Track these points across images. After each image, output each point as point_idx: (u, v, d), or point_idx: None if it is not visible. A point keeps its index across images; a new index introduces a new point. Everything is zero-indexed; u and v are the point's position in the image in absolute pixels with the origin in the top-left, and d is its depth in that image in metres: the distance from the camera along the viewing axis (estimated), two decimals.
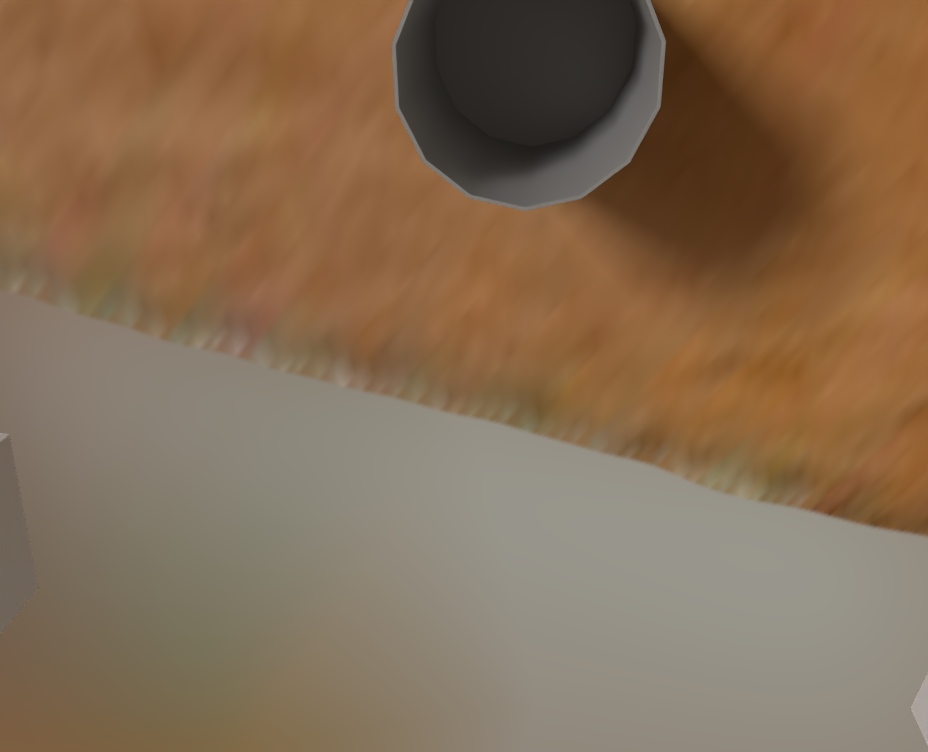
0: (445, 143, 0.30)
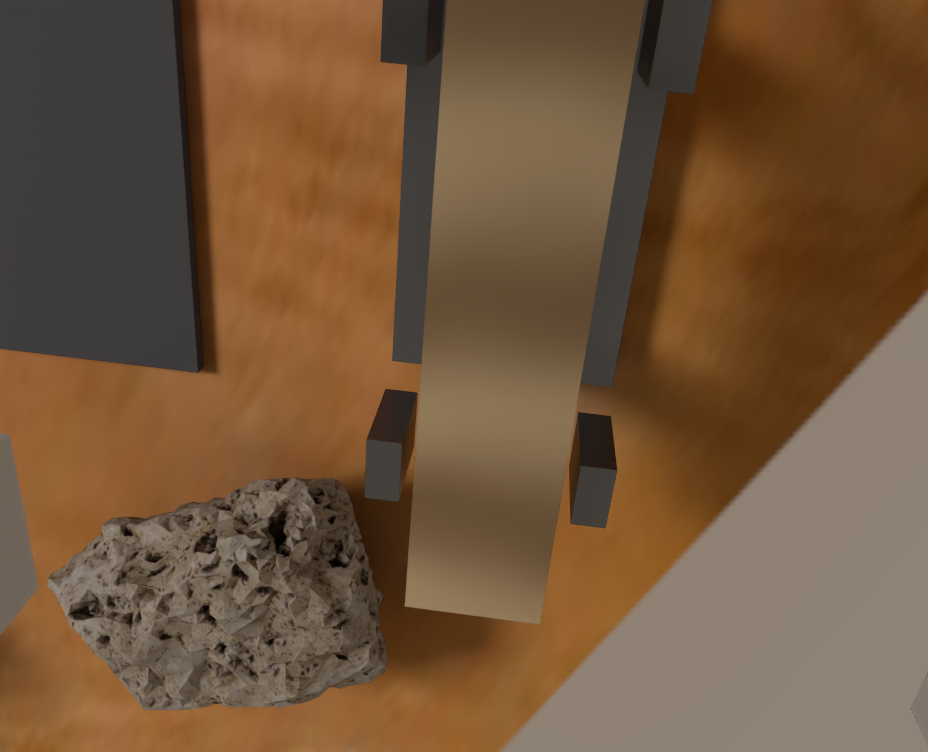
0: None
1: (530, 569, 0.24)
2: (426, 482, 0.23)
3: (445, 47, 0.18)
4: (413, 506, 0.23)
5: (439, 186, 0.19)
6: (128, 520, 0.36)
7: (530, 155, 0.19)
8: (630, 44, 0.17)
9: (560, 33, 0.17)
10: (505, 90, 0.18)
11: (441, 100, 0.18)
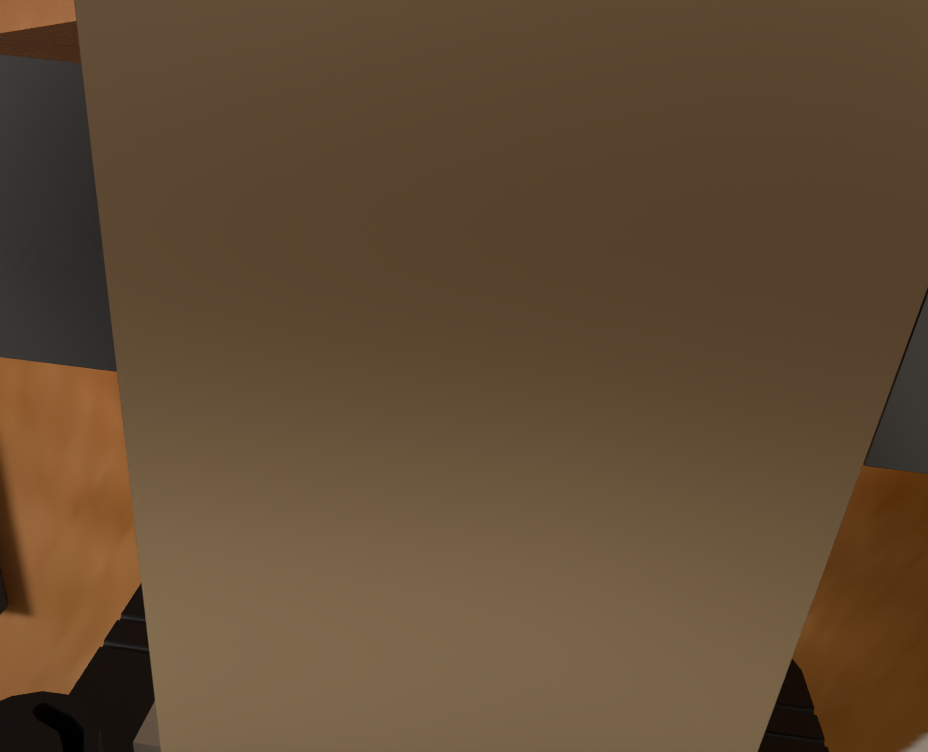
0: None
1: None
2: None
3: (123, 376, 0.05)
4: None
5: (177, 747, 0.06)
6: None
7: (465, 695, 0.05)
8: (856, 392, 0.04)
9: (572, 346, 0.04)
10: (363, 517, 0.05)
11: (140, 534, 0.05)
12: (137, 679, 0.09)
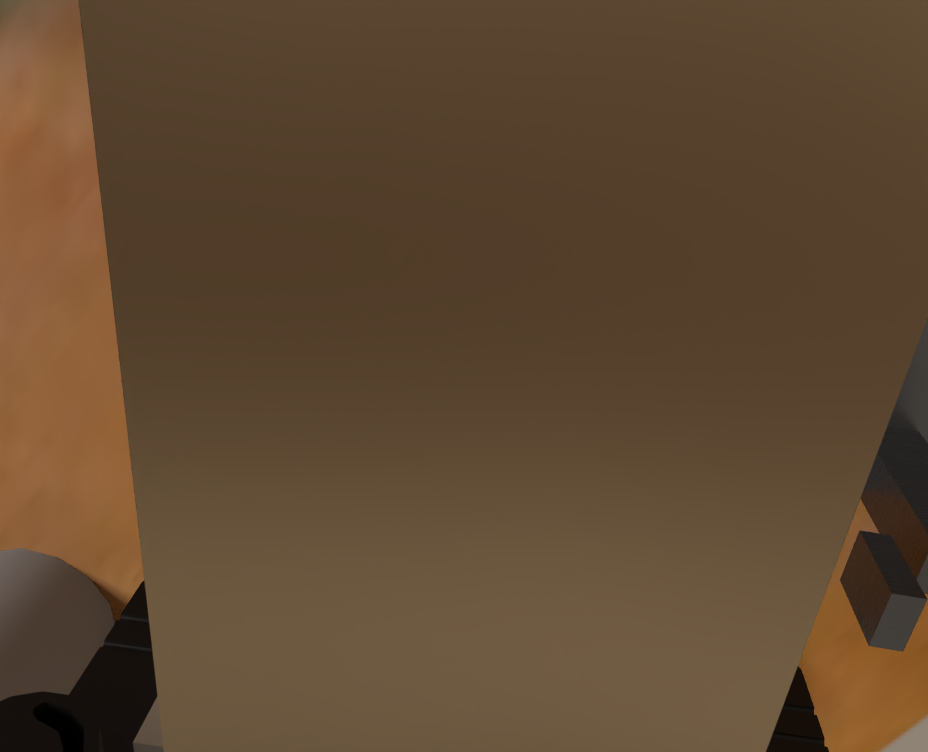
0: None
1: None
2: None
3: (129, 387, 0.05)
4: None
5: None
6: None
7: (468, 704, 0.05)
8: (862, 404, 0.04)
9: (576, 358, 0.04)
10: (368, 526, 0.05)
11: (145, 544, 0.05)
12: (137, 679, 0.09)
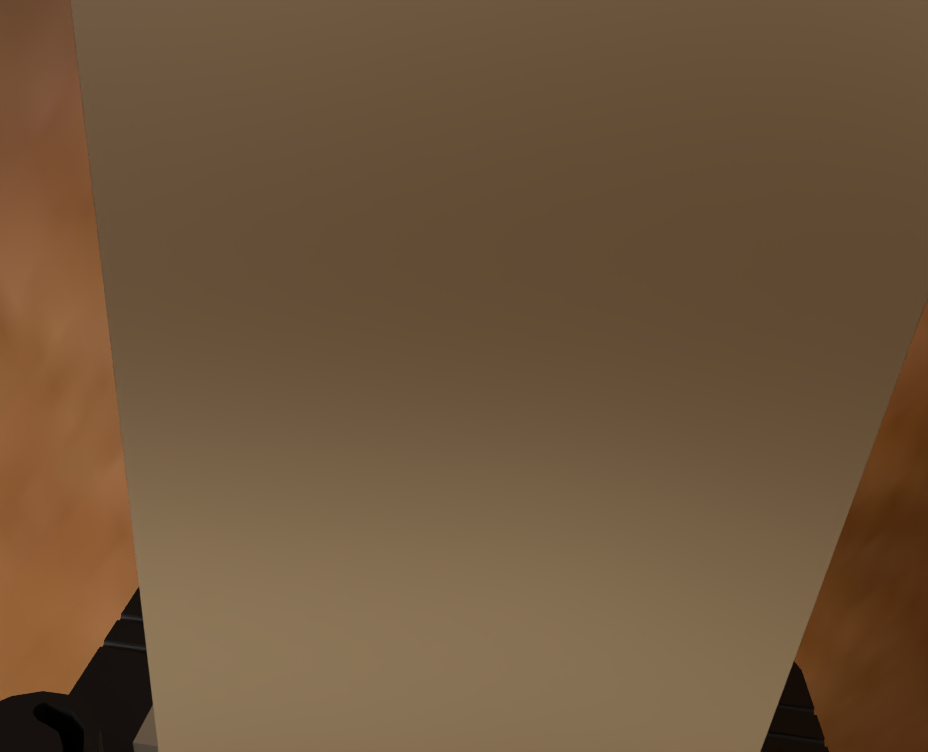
0: None
1: None
2: None
3: (122, 390, 0.05)
4: None
5: None
6: None
7: (464, 705, 0.05)
8: (854, 407, 0.04)
9: (571, 360, 0.04)
10: (361, 529, 0.05)
11: (139, 547, 0.05)
12: (137, 679, 0.09)
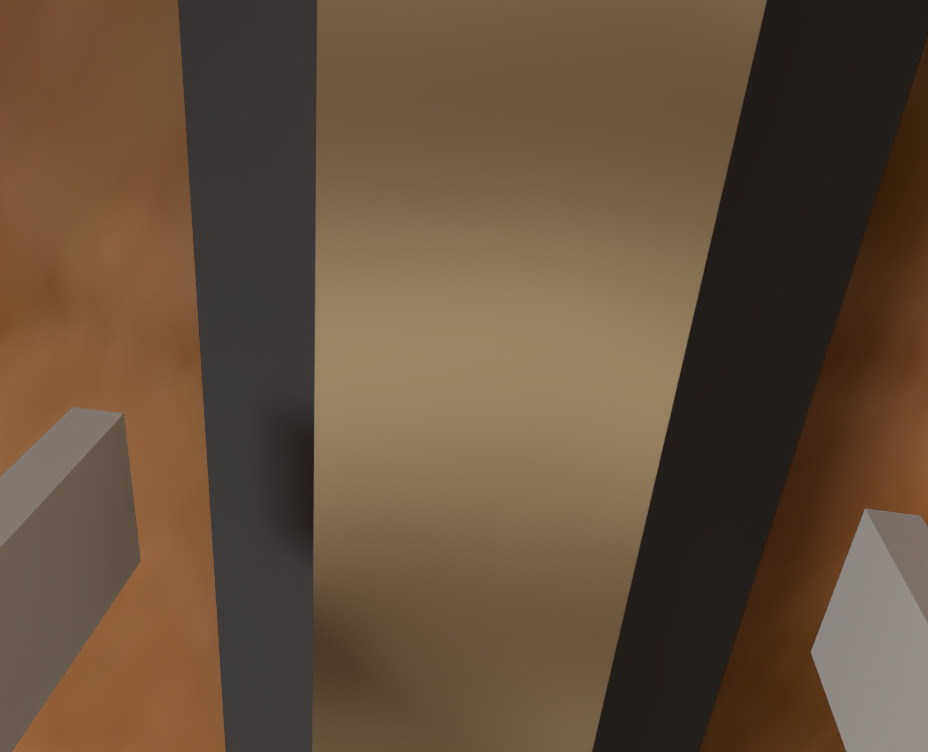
0: None
1: None
2: None
3: (319, 181, 0.09)
4: None
5: (324, 431, 0.10)
6: None
7: (500, 383, 0.09)
8: (708, 181, 0.08)
9: (561, 158, 0.08)
10: (445, 265, 0.09)
11: (318, 281, 0.09)
12: None
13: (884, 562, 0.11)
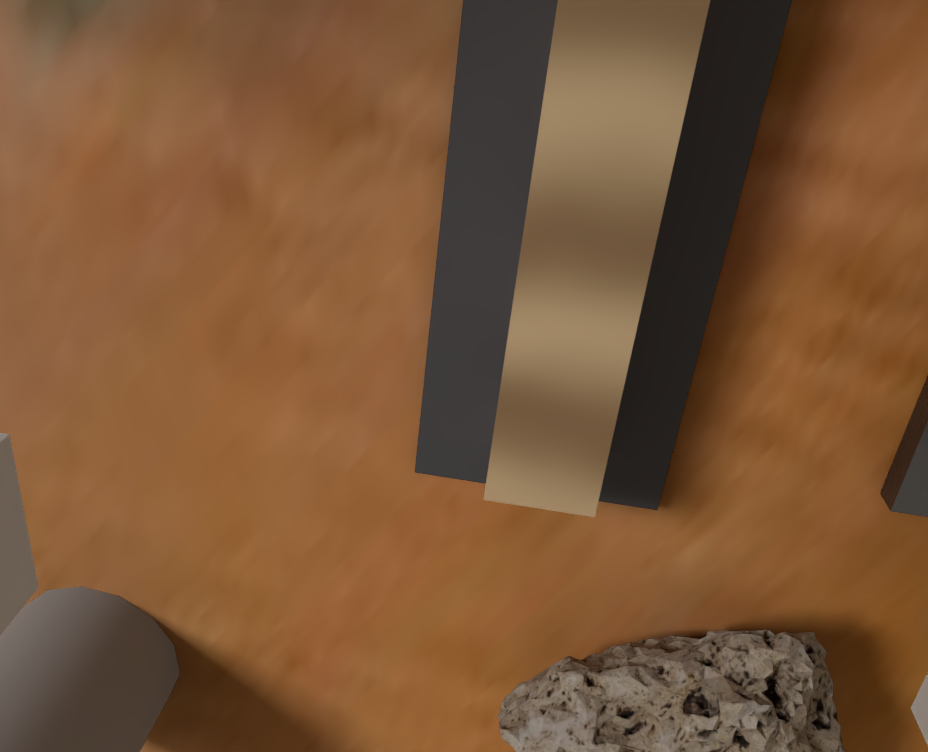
0: None
1: (590, 468, 0.29)
2: (511, 390, 0.28)
3: (554, 35, 0.23)
4: (498, 411, 0.29)
5: (540, 144, 0.24)
6: (586, 668, 0.34)
7: (614, 121, 0.24)
8: (696, 36, 0.23)
9: (643, 27, 0.23)
10: (597, 69, 0.23)
11: (547, 76, 0.24)
12: None
13: None
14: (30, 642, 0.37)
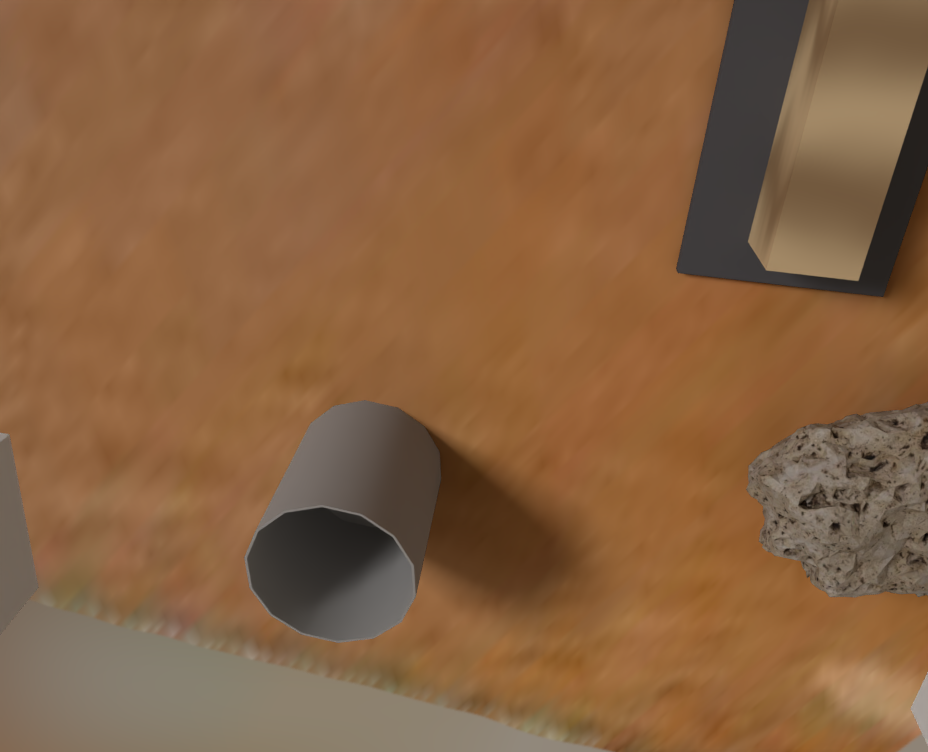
0: (295, 572, 0.45)
1: (860, 236, 0.36)
2: (802, 169, 0.35)
3: None
4: (789, 188, 0.35)
5: None
6: (830, 425, 0.41)
7: None
8: None
9: None
10: None
11: None
12: None
13: None
14: (344, 435, 0.44)
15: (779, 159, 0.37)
